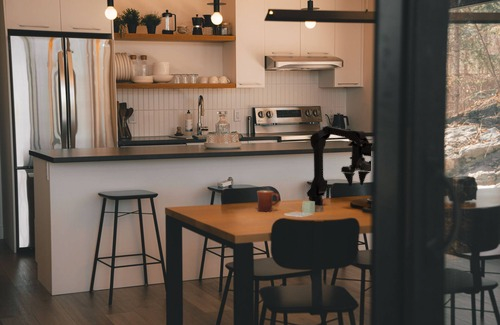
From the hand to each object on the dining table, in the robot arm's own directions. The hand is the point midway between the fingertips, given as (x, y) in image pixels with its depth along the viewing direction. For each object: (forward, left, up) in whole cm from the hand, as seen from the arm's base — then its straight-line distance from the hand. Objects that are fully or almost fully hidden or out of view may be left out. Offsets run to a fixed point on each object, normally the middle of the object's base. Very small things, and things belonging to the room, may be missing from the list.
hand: (356, 185), depth 362 cm
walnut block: (-17, -9, -14) cm, 24 cm away
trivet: (-17, -27, -14) cm, 35 cm away
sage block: (-17, -18, -14) cm, 28 cm away
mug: (-36, -27, -14) cm, 47 cm away
